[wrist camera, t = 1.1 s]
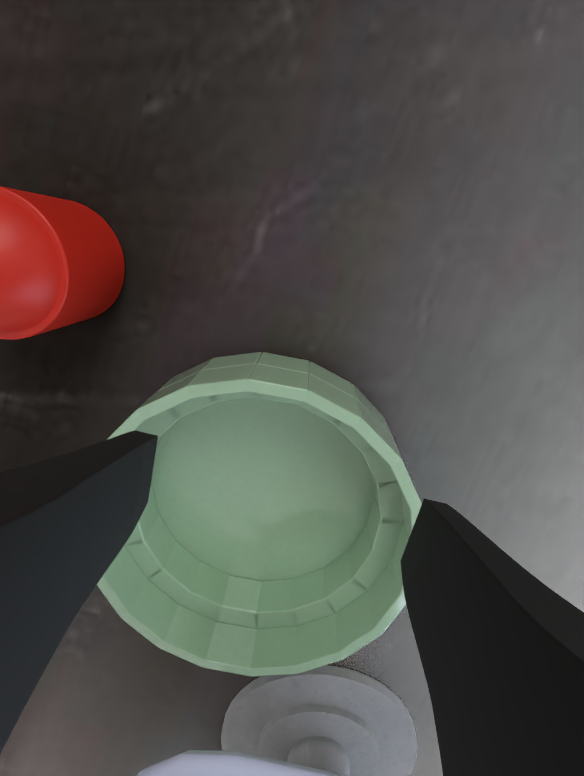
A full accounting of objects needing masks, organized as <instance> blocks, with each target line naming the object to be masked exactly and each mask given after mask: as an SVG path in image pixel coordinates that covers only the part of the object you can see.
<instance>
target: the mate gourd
mask: <svg viewBox="0 0 584 776" xmlns="http://www.w3.org/2000/svg"><path fill="white" fill-rule="evenodd" d="M221 746H222V751H238V752H242V753H247V754H252V755H256V756H261V757H265V758H270V759H274V760H279V761H284V762H288V763H293V764H297V765H302V766H306V767H311V768H315V769H320V770H325V771H329V772H334V773H338V774H343V775H347V776H409V775H410V774H411V772H412V770H413V767H414V765H415V762H416V759H417V750H418V743H417V738H416V733H415V728H414V723H413V720H412V718H411V716H410V713H409V711H408V709H407V707H406V706H405V705H404V704H403V702H402V701H401V700H400V699H399V697H398V696H397V695H396V694H395V693H394V692H392V691H391V690H390V689H389V688H387V687H386V686H385V685H384V684H382V683H380V682H379V681H377V680H375V679H373V678H371V677H369V676H367V675H365V674H362V673H359V672H356V671H354V670H351V669H348V668H342V667H337V666H331V665H325V666H321V667H318V668H315V669H312V670H309V671H306V672H303V673H298V674H286V675H269V676H261V677H259V678H257V679H255V680H253V681H252V682H250V683H249V684H248V685H247V686H245V687H244V688H243V689H241V690H240V691H239V693H238V694H237V695H236V696H235V697H234V699H233V700H232V701H231V703H230V705H229V707H228V709H227V711H226V713H225V717H224V723H223V728H222V734H221Z"/></svg>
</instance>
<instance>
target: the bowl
mask: <svg viewBox="0 0 584 776" xmlns="http://www.w3.org/2000/svg"><path fill="white" fill-rule="evenodd" d="M135 430H136V431H140V432H145V433H149V434H153V435H157V436H158V440H157V447H156V453H155V460H154V466H153V473H152V479H151V486H150V493H149V499H148V503H147V505H146V507H145V509H144V511H143V513H142V515H141V517H140V519H139V521H138V523H137V525H136V527H135V529H134V531H133V533H132V534H131V536H130V537H129V539H128V540H127V542H126V543H125V545H124V546H123V548H122V549H121V550H120V552H119V553H118V555H117V556H116V558H115V559H114V561H113V562H112V563H111V565H110V566H109V568H108V569H107V571H106V572H105V573H104V575H103V576H102V578H101V579H100V581H99V582H98V583H97V586H98V587H99V589H100V590H101V592H102V593H103V594H104V596H105V597H106V598H107V600H108V601H109V603H110V604H111V605H112V607H113V608H114V609H115V611H116V612H117V614H118V615H119V616H120V618H122V620H124V621H125V622H126V623H127V624H129V625H130V626H131V627H132V628H134V629H135V630H136V631H138V632H139V633H140V634H141V635H143V636H144V637H145V638H146V639H148V640H149V641H150V642H152V643H153V644H154V645H155V646H157V647H158V648H160V649H162V650H164V651H166V652H169V653H171V654H173V655H175V656H178V657H180V658H182V659H184V660H187V661H189V662H191V663H193V664H196V665H198V666H200V667H203V668H207V669H213V670H218V671H224V672H229V673H235V674H240V675H246V676H269V675H286V674H298V673H303V672H306V671H309V670H312V669H315V668H318V667H321V666H325V665H328V664H331V663H334V662H337V661H340V660H343V659H345V658H347V657H348V656H350V655H351V654H353V653H354V652H356V651H357V650H359V649H361V648H362V647H364V646H365V645H367V644H368V643H370V642H371V641H373V640H374V639H376V638H377V637H379V636H380V635H382V633H383V632H384V631H385V630H386V629H387V627H388V626H389V625H390V624H391V622H392V621H393V620H394V619H395V617H396V616H397V615H398V614H399V612H400V611H401V610H402V609H403V607H404V606H405V605H406V601H405V596H404V589H403V582H402V572H401V563H400V560H401V558H402V555H403V553H404V550H405V547H406V545H407V542H408V539H409V537H410V534H411V532H412V529H413V526H414V524H415V521H416V518H417V516H418V513H419V511H420V508H421V505H422V503H421V501H420V498H419V496H418V493H417V491H416V489H415V486H414V484H413V482H412V479H411V477H410V475H409V472H408V470H407V468H406V465H405V463H404V460H403V458H402V456H401V453H400V451H399V449H398V447H397V445H396V442H395V440H394V438H393V436H392V433H391V431H390V429H389V427H388V424H387V422H386V420H385V418H384V417H383V415H382V414H381V413H380V412H379V411H378V410H377V409H376V408H375V407H374V406H373V405H372V404H371V403H370V401H369V400H368V399H367V398H366V397H365V396H364V395H363V394H362V393H361V392H360V391H359V390H358V389H357V388H356V387H355V386H354V385H353V384H351V383H350V382H348V381H347V380H345V379H343V378H341V377H339V376H337V375H335V374H333V373H332V372H330V371H328V370H326V369H324V368H322V367H320V366H319V365H317V364H315V363H313V362H309V361H308V360H303V359H297V358H292V357H287V356H281V355H276V354H271V353H265V352H262V353H261V352H256V353H247V354H239V355H231V356H223V357H216V358H212V359H210V360H208V361H206V362H204V363H201V364H199V365H197V366H195V367H193V368H191V369H189V370H187V371H185V372H183V373H180V374H178V375H176V376H174V377H173V378H171V379H170V380H169V381H168V382H167V383H166V384H165V385H163V386H162V387H161V388H160V389H159V390H158V391H157V392H156V393H154V394H153V395H152V396H151V397H150V398H149V399H148V400H147V401H146V402H144V403H143V404H142V405H141V406H140V407H139V408H138V409H137V410H135V411H134V412H133V413H132V414H131V415H130V416H129V417H128V418H127V419H126V420H125V421H124V423H123V424H122V425H121V426H120V427H119V428H118V429H117V430H116V431H115V432H114V433H113V434H112V435H111V436H110V437H109V438H108V439H110V438H113V437H116V436H119V435H121V434H124V433H127V432H131V431H135ZM108 439H107V440H108Z"/></svg>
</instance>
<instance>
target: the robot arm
mask: <svg viewBox="0 0 584 776" xmlns="http://www.w3.org/2000/svg"><path fill="white" fill-rule="evenodd" d="M157 440H158V436H157V435H153V434H149V433H145V432H140V431H136V430H135V431H131V432H127V433H124V434H121V435H119V436H116V437H113V438H110V439H108V440H105V441H102V442H99V443H97V444H94V445H91V446H88V447H86V448H83V449H80V450H77V451H74V452H71V453H68V454H65V455H62V456H58V457H55V458H52V459H49V460H46V461H43V462H39V463H36V464H32V465H29V466H25V467H21V468H17V469H13V470H8V471H4V472H0V753H1V751H2V749H3V747H4V745H5V743H6V741H7V740H8V738H9V736H10V734H11V732H12V730H13V728H14V726H15V724H16V722H17V720H18V718H19V716H20V714H21V712H22V711H23V709H24V707H25V705H26V703H27V701H28V700H29V698H30V696H31V694H32V692H33V690H34V688H35V687H36V685H37V683H38V681H39V679H40V677H41V675H42V674H43V672H44V670H45V668H46V666H47V664H48V663H49V661H50V659H51V657H52V655H53V654H54V652H55V650H56V648H57V647H58V645H59V643H60V641H61V639H62V638H63V636H64V634H65V632H66V631H67V629H68V627H69V625H70V624H71V622H72V620H73V619H74V617H75V616H76V614H77V613H78V611H79V609H80V608H81V606H82V605H83V603H84V602H85V601H86V599H87V598H88V596H89V595H90V593H91V592H92V591H93V589H94V588H95V586H96V585H97V583H98V582H99V581H100V579H101V578H102V576H103V575H104V573H105V572H106V571H107V569H108V568H109V566H110V565H111V563H112V562H113V561H114V559H115V558H116V556H117V555H118V553H119V552H120V550H121V549H122V548H123V546H124V545H125V543H126V542H127V540H128V539H129V537H130V536H131V534H132V533H133V531H134V529H135V527H136V525H137V523H138V521H139V519H140V517H141V515H142V513H143V511H144V509H145V507H146V505H147V503H148V499H149V493H150V486H151V479H152V473H153V466H154V460H155V453H156V447H157ZM400 563H401V572H402V582H403V589H404V596H405V601H406V605H407V609H408V612H409V616H410V620H411V624H412V628H413V632H414V635H415V639H416V643H417V647H418V650H419V654H420V658H421V661H422V665H423V669H424V673H425V676H426V680H427V684H428V688H429V693H430V697H431V702H432V706H433V712H434V719H435V725H436V731H437V737H438V743H439V749H440V755H441V763H442V770H443V776H584V613H583V612H582V611H581V610H579V609H578V608H576V607H575V606H573V605H572V604H571V603H569V602H568V601H566V600H565V599H563V598H562V597H561V596H559V595H558V594H556V593H555V592H554V591H552V590H551V589H550V588H548V587H547V586H546V585H544V584H543V583H542V582H541V581H539V580H538V579H537V578H535V577H534V576H533V575H532V574H530V573H529V572H528V571H527V570H525V569H524V568H523V567H522V566H520V565H519V564H518V563H517V562H516V561H514V560H513V559H512V558H511V557H510V556H508V555H507V554H506V553H505V552H504V551H503V550H501V549H500V548H499V547H498V546H497V545H496V544H494V543H493V542H492V541H491V540H490V539H489V538H488V537H486V536H485V535H484V534H483V533H482V532H481V531H480V530H478V529H477V528H476V527H475V526H474V525H473V524H471V523H470V522H469V521H468V520H467V519H466V518H464V517H463V516H462V515H461V514H460V513H458V512H457V511H456V510H455V509H453V508H452V507H450V506H449V505H447V504H445V503H441V502H437V501H432V500H428V499H424V500H423V503H422V505H421V508H420V511H419V513H418V516H417V518H416V521H415V524H414V526H413V529H412V532H411V534H410V537H409V539H408V542H407V545H406V547H405V550H404V553H403V555H402V558H401V560H400ZM137 776H347V775H343V774H338V773H334V772H329V771H325V770H320V769H315V768H311V767H306V766H302V765H297V764H293V763H288V762H284V761H279V760H274V759H270V758H265V757H261V756H256V755H252V754H247V753H242V752H238V751H212V750H187V751H185V752H182V753H180V754H177V755H175V756H173V757H170V758H168V759H165V760H163V761H160V762H158V763H155V764H153V765H150V766H149V767H147V768H145V769H143V770H141V771H140V772H139V773H138V775H137Z"/></svg>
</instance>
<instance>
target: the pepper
mask: <svg viewBox="0 0 584 776" xmlns="http://www.w3.org/2000/svg"><path fill="white" fill-rule="evenodd" d="M124 275H125V262H124V256H123V252H122V249H121V246H120V243H119V241H118V239H117V237H116V235H115V233H114V232H113V230H112V229H111V228H110V226H109V225H108V224H107V223H106V221H105V220H104V219H103V218H102V217H101V216H99V215H98V214H97V213H96V212H94V211H93V210H91V209H90V208H88V207H86V206H84V205H82V204H80V203H77V202H74V201H70V200H65V199H60V198H55V197H51V196H46V195H41V194H36V193H31V192H26V191H21V190H16V189H11V188H6V187H2V186H0V339H7V340H14V339H23V338H28V337H31V336H34V335H38V334H41V333H44V332H47V331H51V330H54V329H57V328H61V327H64V326H67V325H70V324H74V323H77V322H80V321H84V320H87V319H90V318H93V317H96V316H98V315H100V314H102V313H103V312H105V311H106V310H107V309H108V308H109V307H110V306H111V305H112V304H113V303H114V302H115V300H116V299H117V297H118V295H119V294H120V292H121V289H122V286H123V282H124Z"/></svg>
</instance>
